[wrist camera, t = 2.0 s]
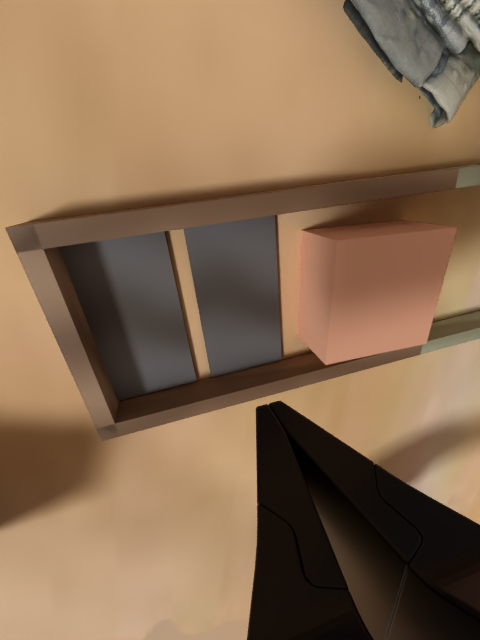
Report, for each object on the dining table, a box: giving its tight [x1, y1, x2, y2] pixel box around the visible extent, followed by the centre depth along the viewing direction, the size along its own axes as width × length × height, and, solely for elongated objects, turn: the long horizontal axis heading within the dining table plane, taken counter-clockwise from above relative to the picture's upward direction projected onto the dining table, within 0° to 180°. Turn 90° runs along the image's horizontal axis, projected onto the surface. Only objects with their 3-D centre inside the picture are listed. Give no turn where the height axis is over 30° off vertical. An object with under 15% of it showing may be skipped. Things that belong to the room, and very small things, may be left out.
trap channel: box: [6, 164, 480, 441], centre depth 17 cm, size 12×34×4 cm, turn 96°
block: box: [297, 220, 457, 365], centre depth 17 cm, size 7×7×4 cm
